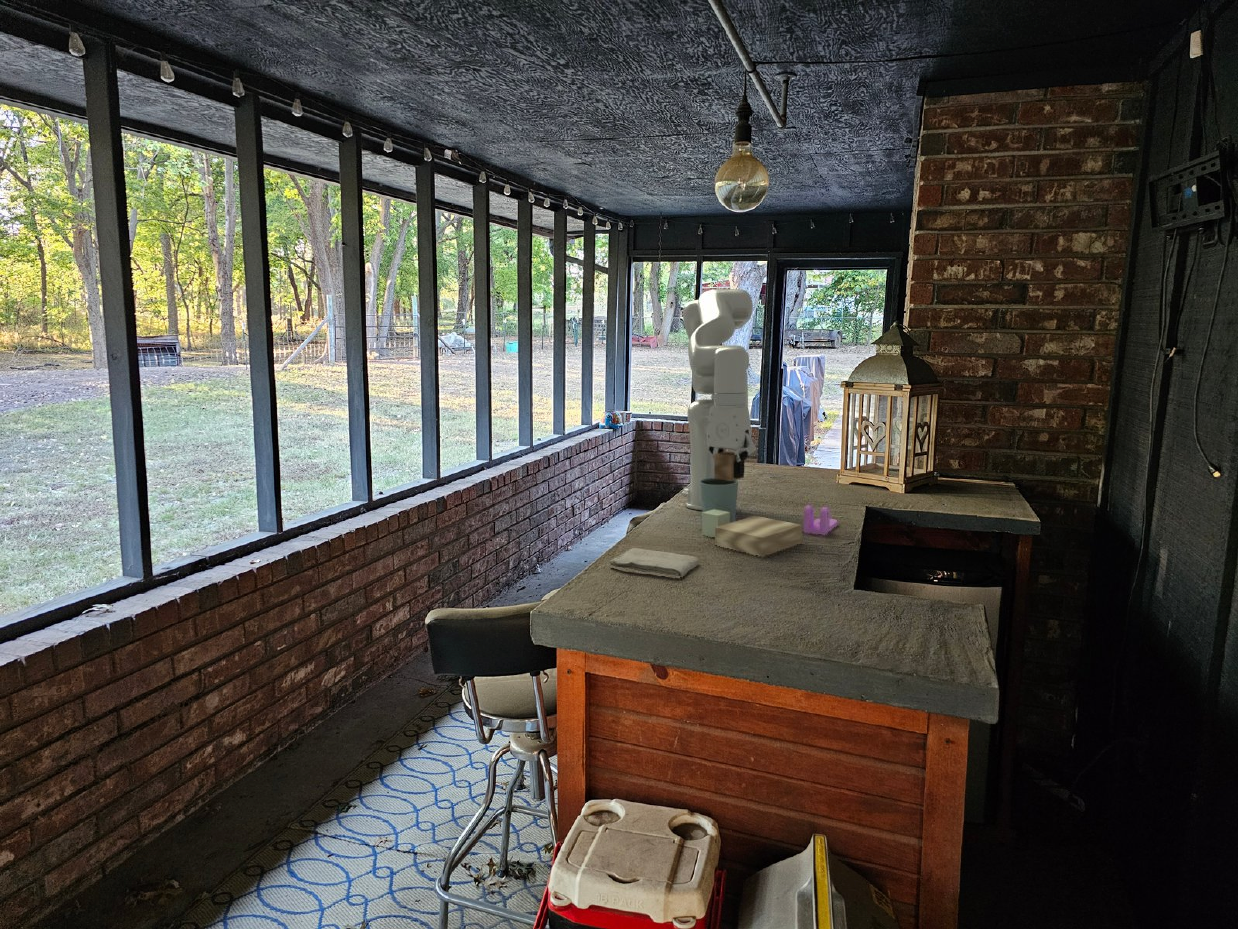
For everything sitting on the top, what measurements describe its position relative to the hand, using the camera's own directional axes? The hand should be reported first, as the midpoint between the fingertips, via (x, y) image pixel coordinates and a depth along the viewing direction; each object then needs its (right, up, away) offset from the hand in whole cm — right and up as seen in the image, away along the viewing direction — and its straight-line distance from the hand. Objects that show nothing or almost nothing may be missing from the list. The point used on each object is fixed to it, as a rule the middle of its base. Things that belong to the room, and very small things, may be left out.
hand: (729, 475), depth 186 cm
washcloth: (-19, -21, -13) cm, 31 cm away
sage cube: (-2, -16, +12) cm, 20 cm away
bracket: (+27, -14, +17) cm, 35 cm away
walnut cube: (0, -1, 0) cm, 1 cm away
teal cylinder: (0, -14, +23) cm, 27 cm away
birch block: (+8, -17, +3) cm, 19 cm away
